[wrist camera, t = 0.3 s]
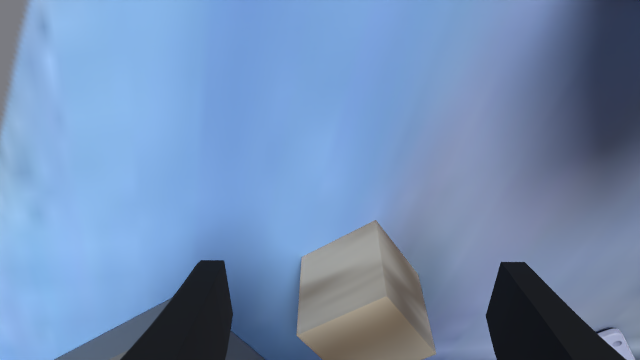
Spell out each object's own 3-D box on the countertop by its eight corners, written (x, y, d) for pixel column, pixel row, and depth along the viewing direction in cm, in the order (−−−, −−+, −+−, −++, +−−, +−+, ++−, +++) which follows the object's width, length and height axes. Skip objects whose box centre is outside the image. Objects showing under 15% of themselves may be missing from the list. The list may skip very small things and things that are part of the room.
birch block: (417, 273, 25) (436, 354, 21) (347, 305, 26) (351, 386, 22) (375, 219, 23) (386, 295, 19) (301, 256, 24) (296, 335, 20)
